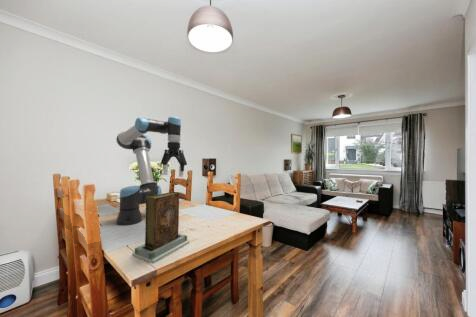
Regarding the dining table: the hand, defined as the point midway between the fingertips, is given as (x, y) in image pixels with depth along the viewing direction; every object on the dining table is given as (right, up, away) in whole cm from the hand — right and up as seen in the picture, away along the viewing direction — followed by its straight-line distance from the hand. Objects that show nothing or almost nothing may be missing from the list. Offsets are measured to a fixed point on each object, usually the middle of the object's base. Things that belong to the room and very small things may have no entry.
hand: (173, 175), depth 123 cm
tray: (+4, -33, -29) cm, 44 cm away
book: (+5, -32, -28) cm, 43 cm away
